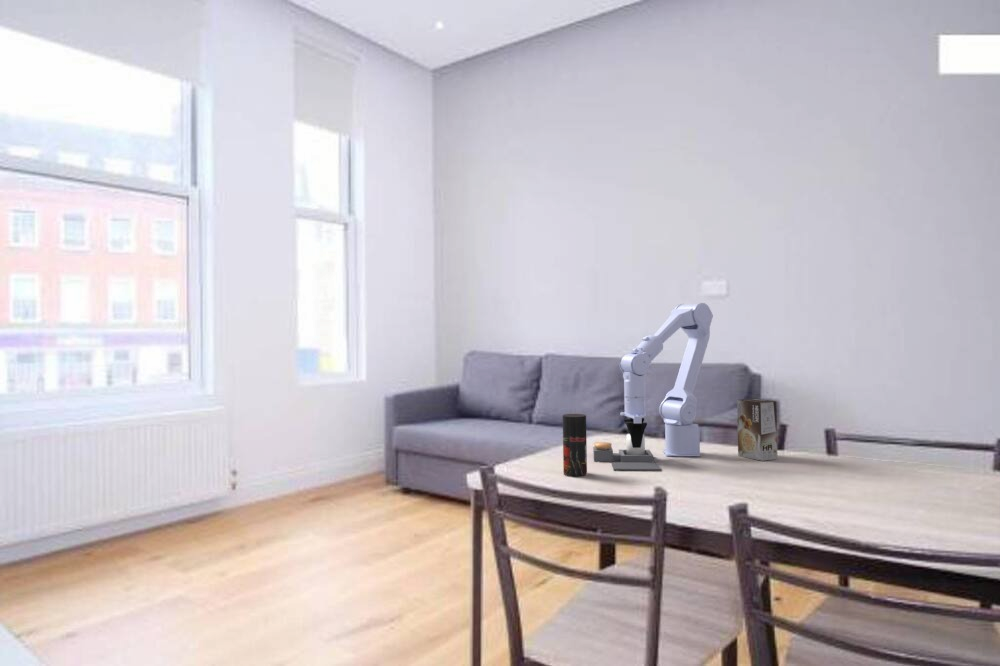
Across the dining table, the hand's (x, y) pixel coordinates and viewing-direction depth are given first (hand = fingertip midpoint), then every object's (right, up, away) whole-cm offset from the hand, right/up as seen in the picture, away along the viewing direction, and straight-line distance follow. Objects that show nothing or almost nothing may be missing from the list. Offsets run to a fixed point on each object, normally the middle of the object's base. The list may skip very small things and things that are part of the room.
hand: (635, 445), depth 184 cm
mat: (-2, -4, -10) cm, 11 cm away
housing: (-4, -4, 0) cm, 6 cm away
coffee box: (+34, -4, +1) cm, 35 cm away
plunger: (-9, -3, +1) cm, 10 cm away
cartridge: (0, -3, 0) cm, 3 cm away
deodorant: (-19, -5, -16) cm, 25 cm away
